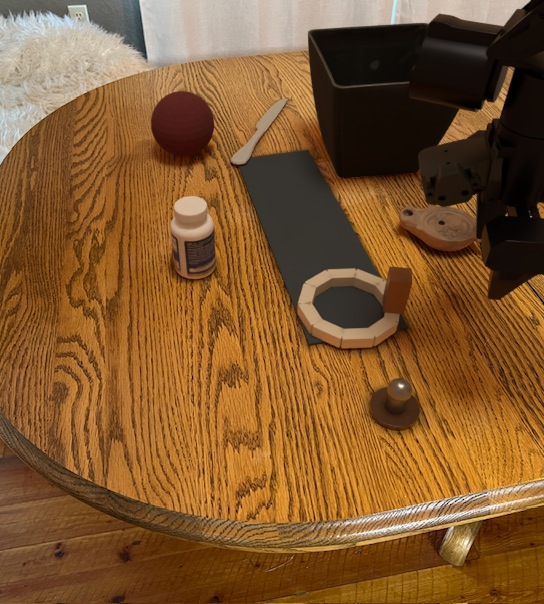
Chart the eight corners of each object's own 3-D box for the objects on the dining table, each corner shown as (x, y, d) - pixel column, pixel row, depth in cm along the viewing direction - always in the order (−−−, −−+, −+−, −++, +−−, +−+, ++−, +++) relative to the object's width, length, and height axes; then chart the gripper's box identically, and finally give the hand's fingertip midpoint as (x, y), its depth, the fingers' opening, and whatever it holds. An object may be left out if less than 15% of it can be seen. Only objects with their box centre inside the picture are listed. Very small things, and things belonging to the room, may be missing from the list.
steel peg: (429, 412, 62) (439, 386, 58) (396, 439, 59) (404, 412, 56) (391, 382, 64) (399, 355, 61) (359, 406, 62) (365, 379, 59)
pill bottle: (223, 260, 79) (221, 199, 72) (203, 285, 76) (199, 223, 69) (188, 248, 81) (182, 187, 74) (167, 272, 78) (159, 211, 71)
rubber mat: (408, 328, 70) (408, 326, 70) (308, 345, 68) (309, 343, 68) (308, 151, 98) (308, 149, 97) (236, 160, 96) (236, 158, 96)
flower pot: (448, 184, 90) (479, 75, 78) (323, 195, 89) (335, 85, 77) (408, 122, 103) (429, 21, 91) (299, 131, 102) (306, 29, 90)
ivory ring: (419, 315, 71) (432, 274, 66) (347, 365, 66) (355, 324, 61) (348, 264, 77) (354, 224, 73) (277, 306, 72) (279, 265, 68)
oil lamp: (387, 238, 81) (393, 208, 78) (409, 211, 86) (416, 181, 82) (484, 274, 76) (495, 244, 72) (502, 243, 80) (514, 212, 77)
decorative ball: (213, 169, 95) (211, 110, 88) (150, 169, 95) (143, 110, 88) (216, 136, 102) (214, 79, 95) (158, 136, 102) (151, 79, 95)
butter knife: (226, 160, 95) (243, 164, 94) (278, 96, 110) (293, 98, 109) (226, 163, 95) (244, 166, 94) (277, 98, 110) (293, 100, 110)
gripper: (427, 70, 57) (400, 206, 68) (443, 179, 44) (407, 326, 55) (553, 74, 55) (505, 213, 66) (609, 189, 42) (537, 338, 53)
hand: (486, 266), depth 60 cm, fingers open, 9 cm apart
